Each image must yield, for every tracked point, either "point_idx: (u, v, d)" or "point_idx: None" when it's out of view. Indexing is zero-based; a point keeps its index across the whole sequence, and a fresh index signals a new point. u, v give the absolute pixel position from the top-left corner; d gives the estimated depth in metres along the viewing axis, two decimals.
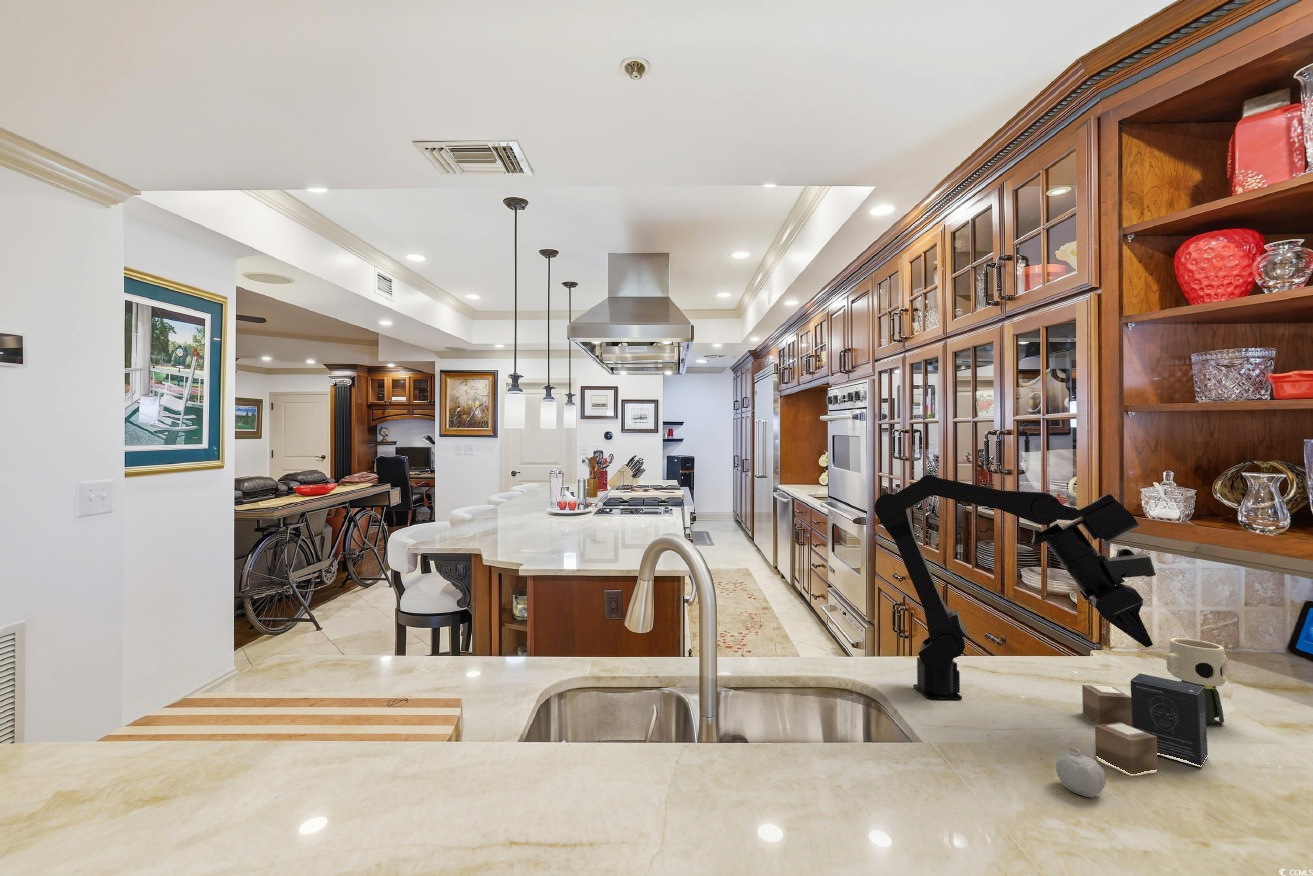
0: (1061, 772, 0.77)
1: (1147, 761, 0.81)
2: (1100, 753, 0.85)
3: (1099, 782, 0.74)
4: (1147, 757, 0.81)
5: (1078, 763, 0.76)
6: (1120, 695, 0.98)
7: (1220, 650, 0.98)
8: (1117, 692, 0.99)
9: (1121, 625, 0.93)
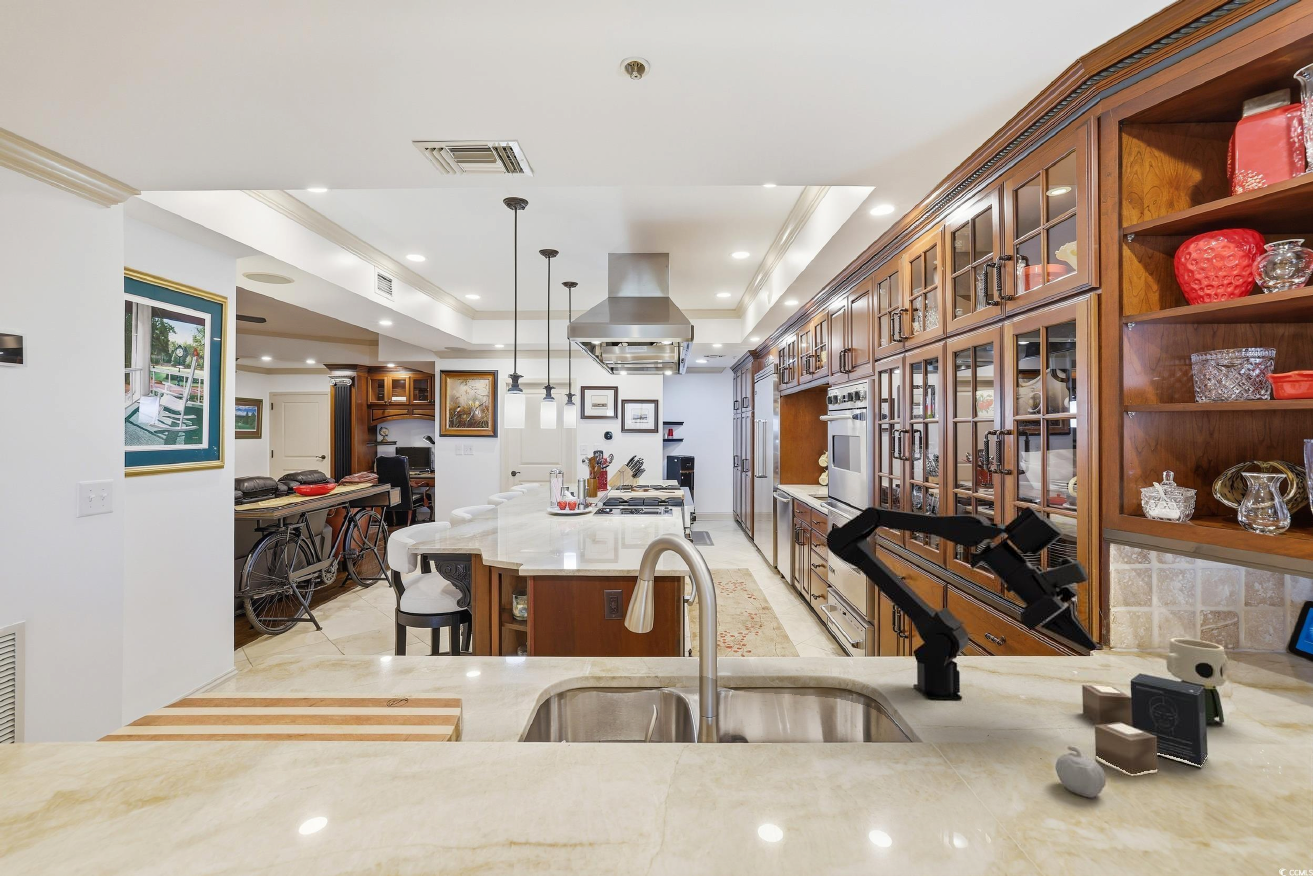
0: (1061, 772, 0.77)
1: (1147, 761, 0.81)
2: (1100, 753, 0.85)
3: (1099, 782, 0.74)
4: (1147, 757, 0.81)
5: (1078, 763, 0.76)
6: (1120, 695, 0.98)
7: (1220, 650, 0.98)
8: (1117, 692, 0.99)
9: (1060, 631, 0.96)
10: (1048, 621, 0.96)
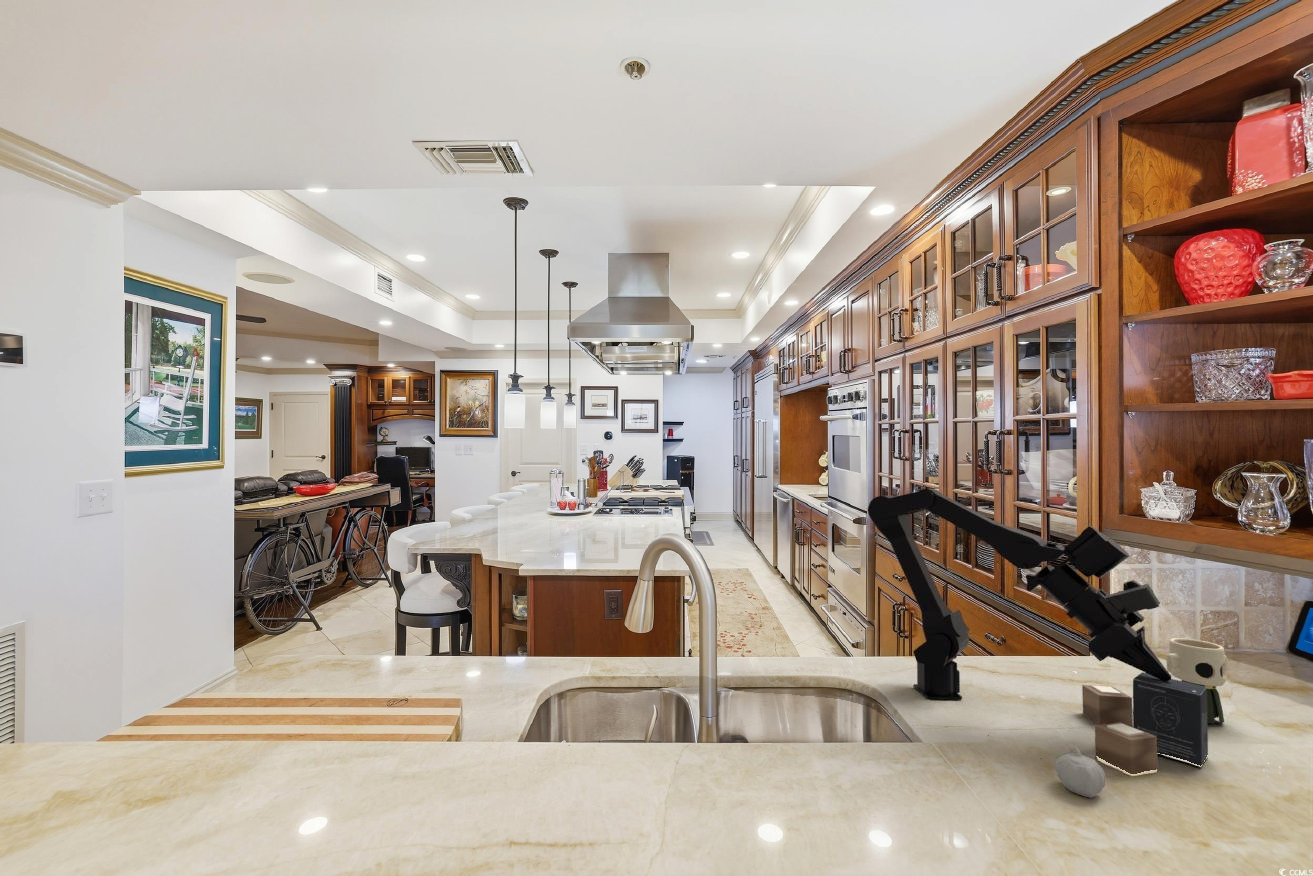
0: (1061, 772, 0.77)
1: (1147, 761, 0.81)
2: (1100, 753, 0.85)
3: (1099, 782, 0.74)
4: (1147, 757, 0.81)
5: (1078, 763, 0.76)
6: (1120, 695, 0.98)
7: (1220, 650, 0.98)
8: (1117, 692, 0.99)
9: (1130, 661, 0.90)
10: (1117, 650, 0.90)
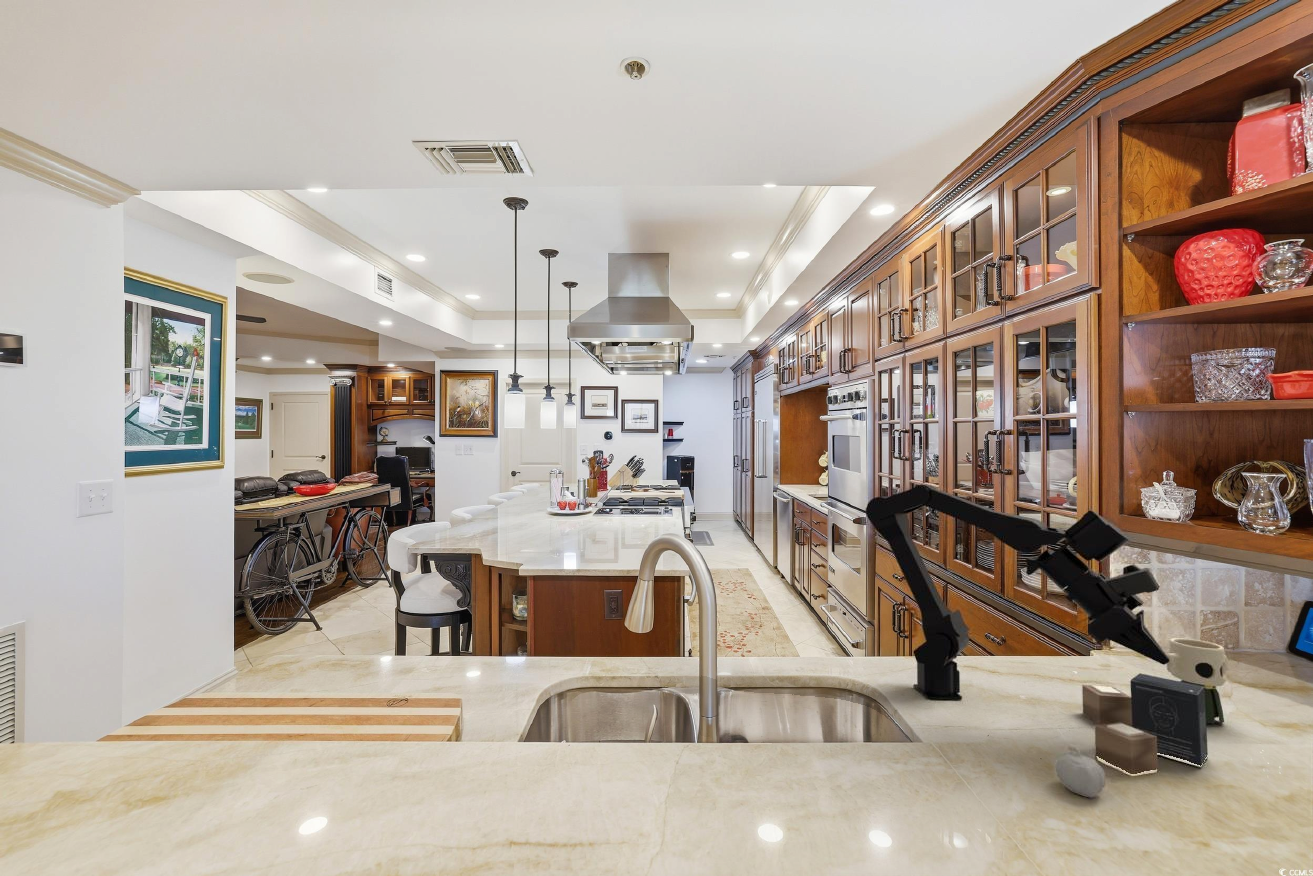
0: (1061, 772, 0.77)
1: (1147, 761, 0.81)
2: (1100, 753, 0.85)
3: (1099, 782, 0.74)
4: (1147, 757, 0.81)
5: (1078, 763, 0.76)
6: (1120, 695, 0.98)
7: (1220, 650, 0.98)
8: (1117, 692, 0.99)
9: (1129, 644, 0.90)
10: (1116, 633, 0.90)
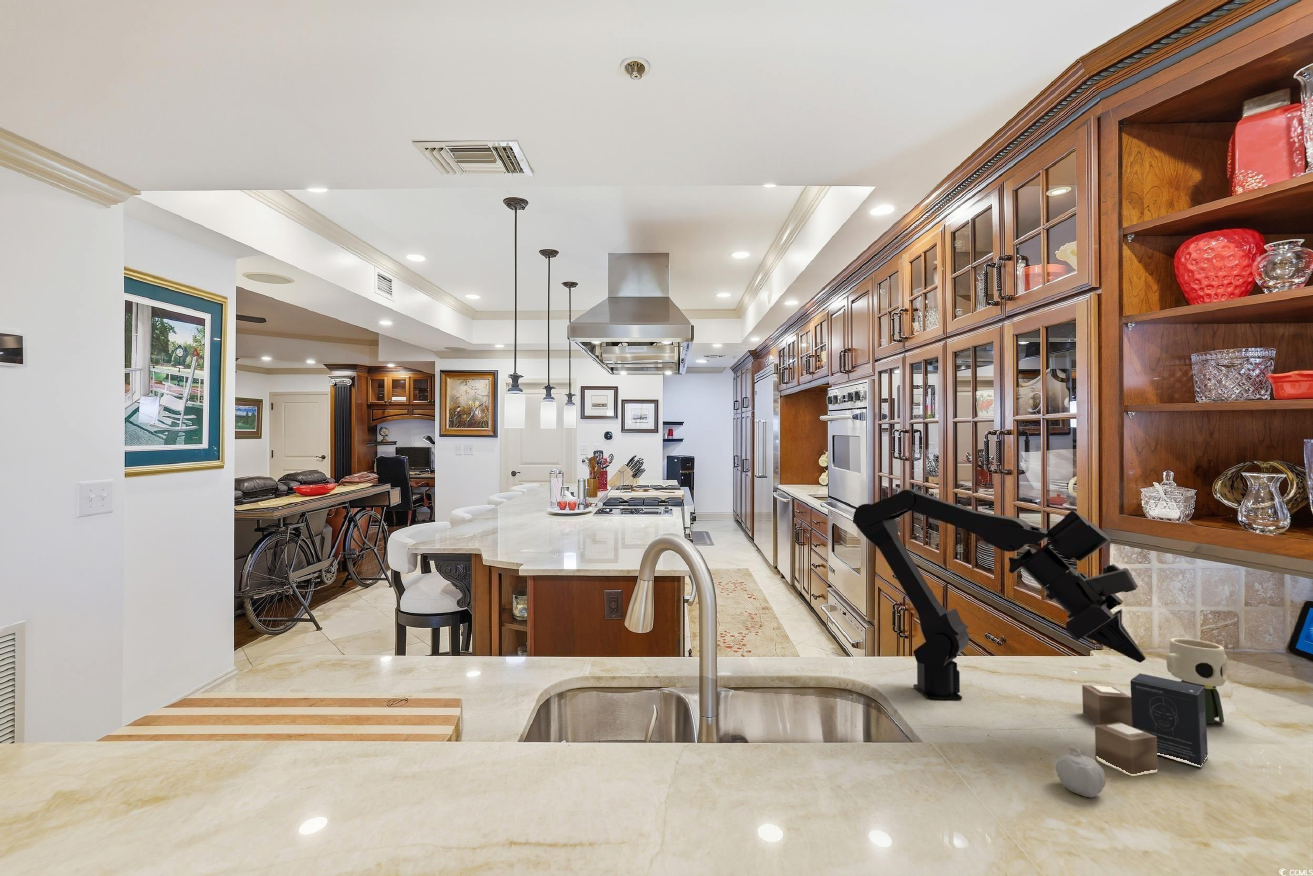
0: (1061, 772, 0.77)
1: (1147, 761, 0.81)
2: (1100, 753, 0.85)
3: (1099, 782, 0.74)
4: (1147, 757, 0.81)
5: (1078, 763, 0.76)
6: (1120, 695, 0.98)
7: (1220, 650, 0.98)
8: (1117, 692, 0.99)
9: (1106, 642, 0.92)
10: (1094, 631, 0.92)
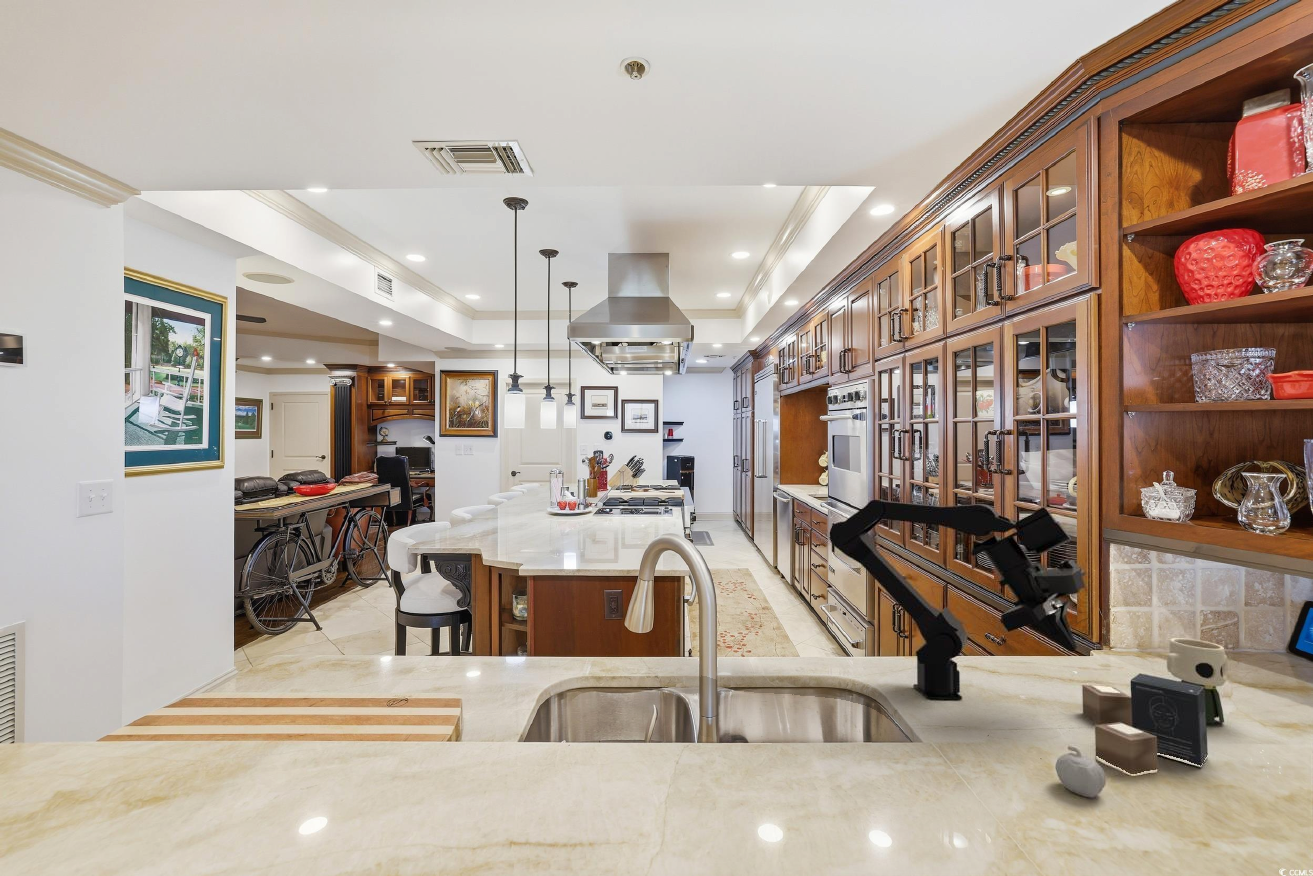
0: (1061, 772, 0.77)
1: (1147, 761, 0.81)
2: (1100, 753, 0.85)
3: (1099, 782, 0.74)
4: (1147, 757, 0.81)
5: (1078, 763, 0.76)
6: (1120, 695, 0.98)
7: (1220, 650, 0.98)
8: (1117, 692, 0.99)
9: (1043, 630, 1.00)
10: None
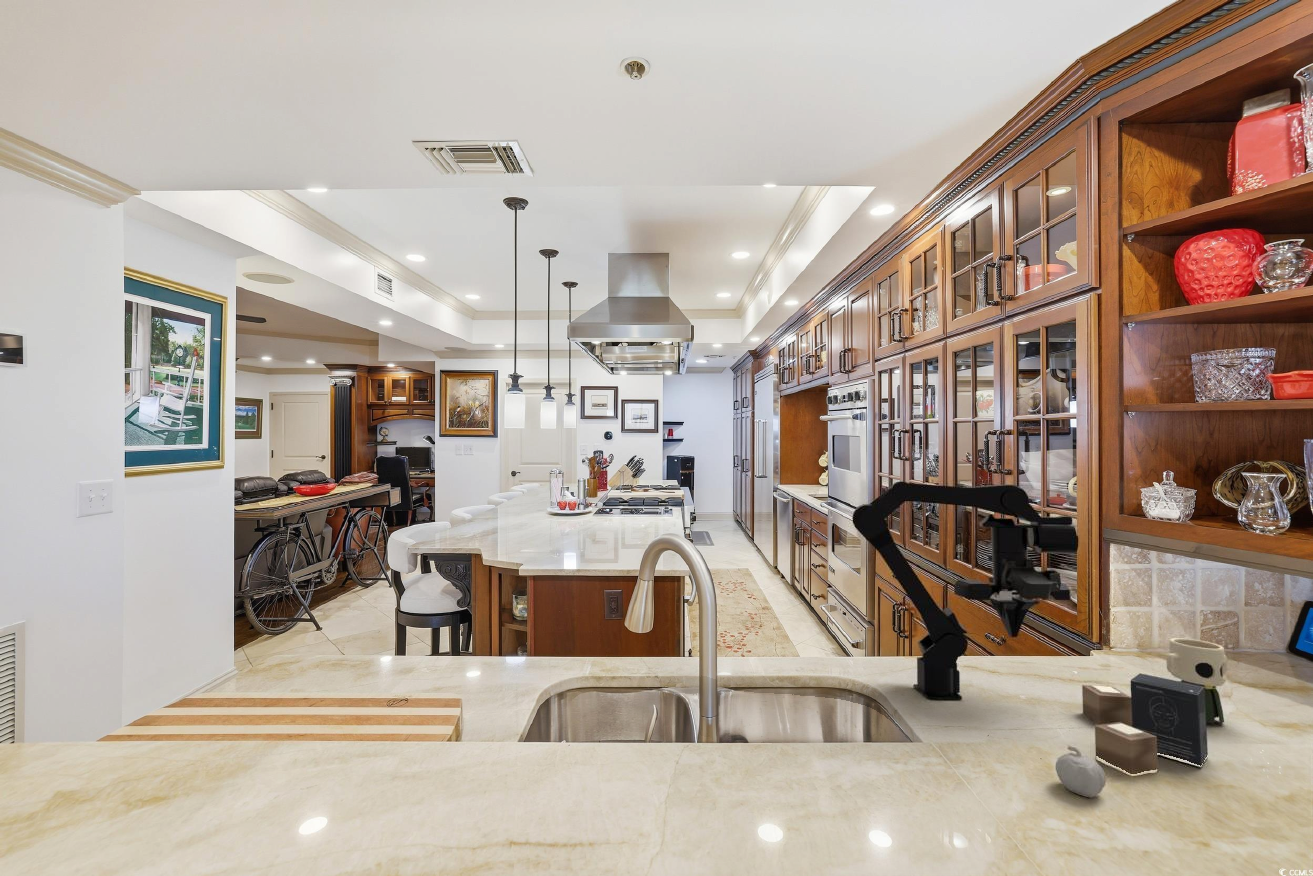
0: (1061, 772, 0.77)
1: (1147, 761, 0.81)
2: (1100, 753, 0.85)
3: (1099, 782, 0.74)
4: (1147, 757, 0.81)
5: (1078, 763, 0.76)
6: (1120, 695, 0.98)
7: (1220, 650, 0.98)
8: (1117, 692, 0.99)
9: (997, 609, 1.09)
10: (988, 598, 1.09)
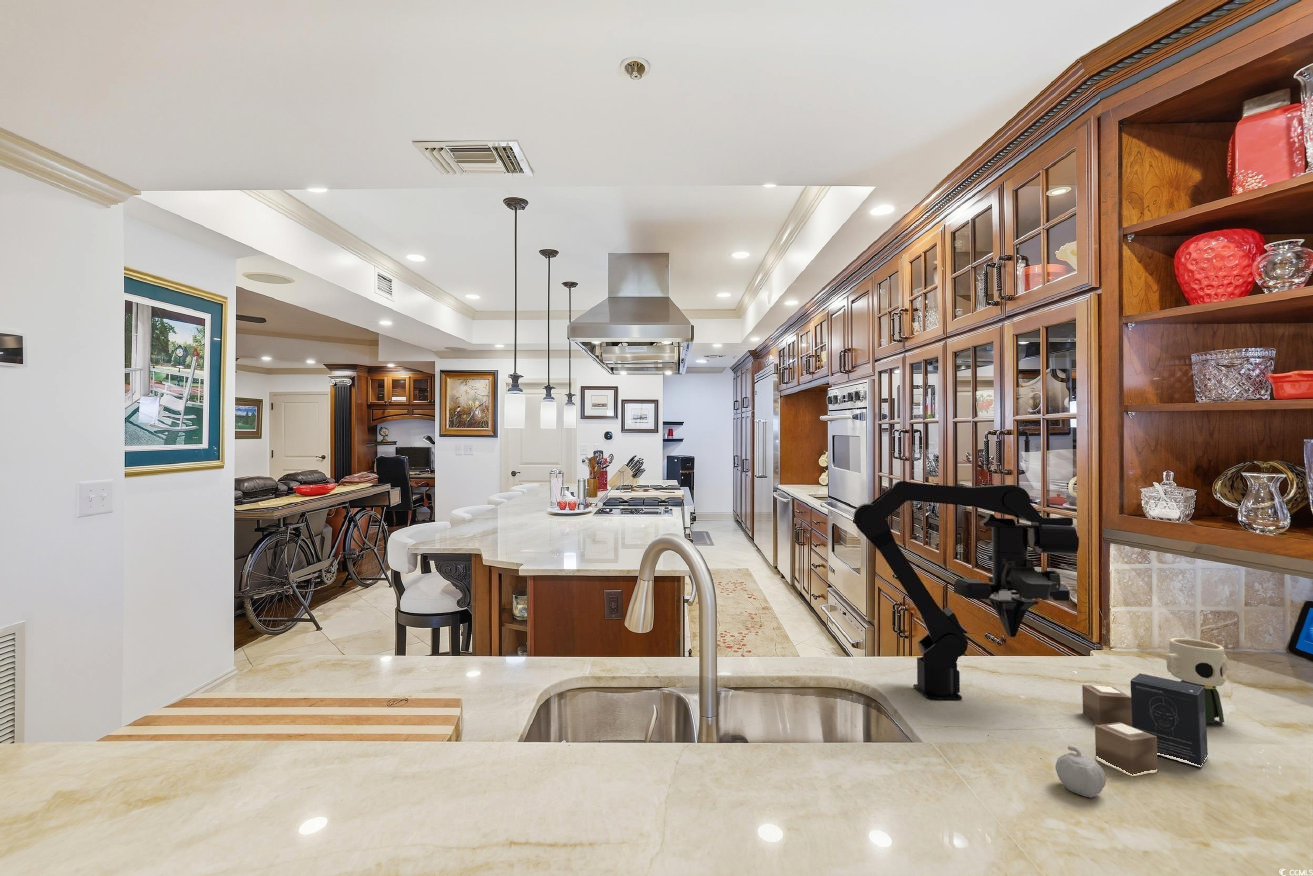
0: (1061, 772, 0.77)
1: (1147, 761, 0.81)
2: (1100, 753, 0.85)
3: (1099, 782, 0.74)
4: (1147, 757, 0.81)
5: (1078, 763, 0.76)
6: (1120, 695, 0.98)
7: (1220, 650, 0.98)
8: (1117, 692, 0.99)
9: (996, 609, 1.09)
10: (987, 597, 1.09)
